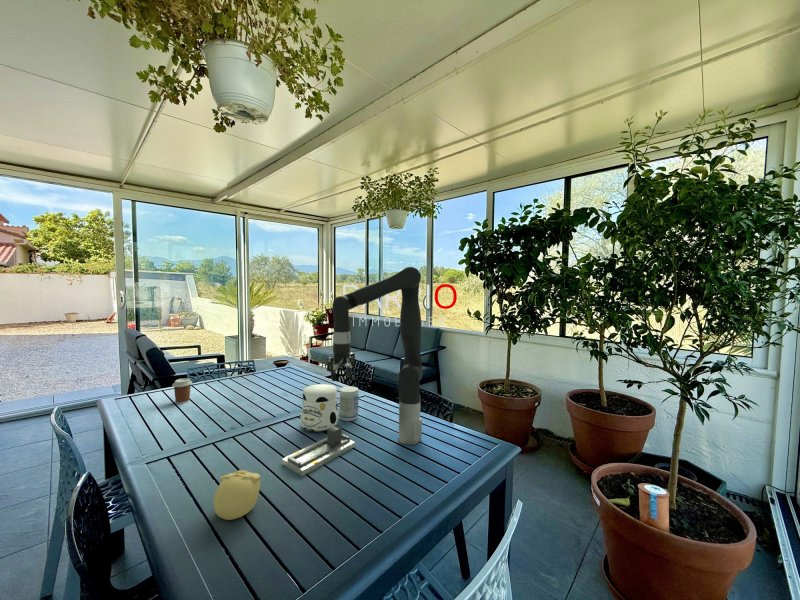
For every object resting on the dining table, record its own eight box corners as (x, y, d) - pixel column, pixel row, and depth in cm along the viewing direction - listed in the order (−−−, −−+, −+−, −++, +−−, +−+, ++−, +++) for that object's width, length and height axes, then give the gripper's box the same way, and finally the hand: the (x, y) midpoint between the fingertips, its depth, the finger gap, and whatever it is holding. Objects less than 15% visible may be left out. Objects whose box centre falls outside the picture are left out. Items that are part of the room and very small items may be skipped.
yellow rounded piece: (265, 496, 98) (265, 462, 98) (247, 525, 86) (247, 487, 86) (227, 496, 98) (227, 462, 97) (205, 525, 86) (205, 487, 85)
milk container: (299, 437, 137) (300, 396, 136) (301, 420, 154) (301, 384, 153) (339, 433, 142) (340, 393, 141) (337, 417, 158) (337, 382, 158)
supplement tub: (358, 421, 155) (358, 391, 154) (338, 422, 153) (339, 392, 153) (358, 413, 164) (358, 385, 164) (339, 414, 163) (340, 386, 162)
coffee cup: (174, 399, 177) (174, 378, 177) (193, 397, 181) (193, 377, 181) (170, 405, 169) (170, 383, 169) (190, 403, 173) (190, 381, 173)
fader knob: (334, 439, 131) (334, 425, 131) (341, 442, 129) (341, 427, 129) (327, 443, 128) (327, 428, 128) (333, 446, 126) (334, 431, 125)
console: (335, 438, 137) (335, 430, 137) (355, 446, 130) (355, 438, 130) (282, 464, 116) (282, 455, 116) (302, 476, 109) (302, 466, 109)
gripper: (335, 344, 128) (334, 384, 129) (359, 340, 140) (359, 376, 140) (323, 342, 133) (322, 380, 133) (347, 338, 144) (347, 373, 145)
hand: (341, 378), depth 137 cm, fingers open, 8 cm apart
